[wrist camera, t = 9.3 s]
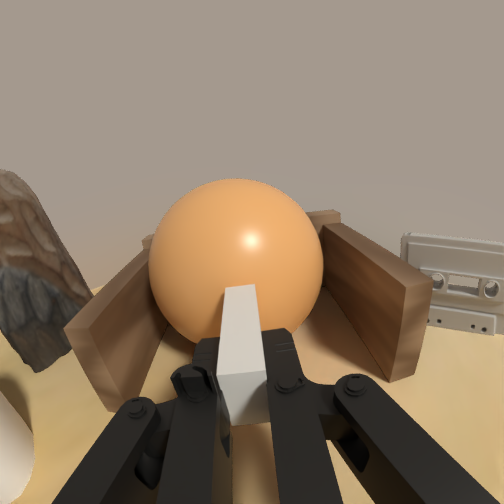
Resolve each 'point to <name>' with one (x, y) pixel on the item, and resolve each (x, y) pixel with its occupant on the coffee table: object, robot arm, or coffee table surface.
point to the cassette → (454, 296)
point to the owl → (35, 278)
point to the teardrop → (14, 452)
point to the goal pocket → (334, 278)
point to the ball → (234, 257)
